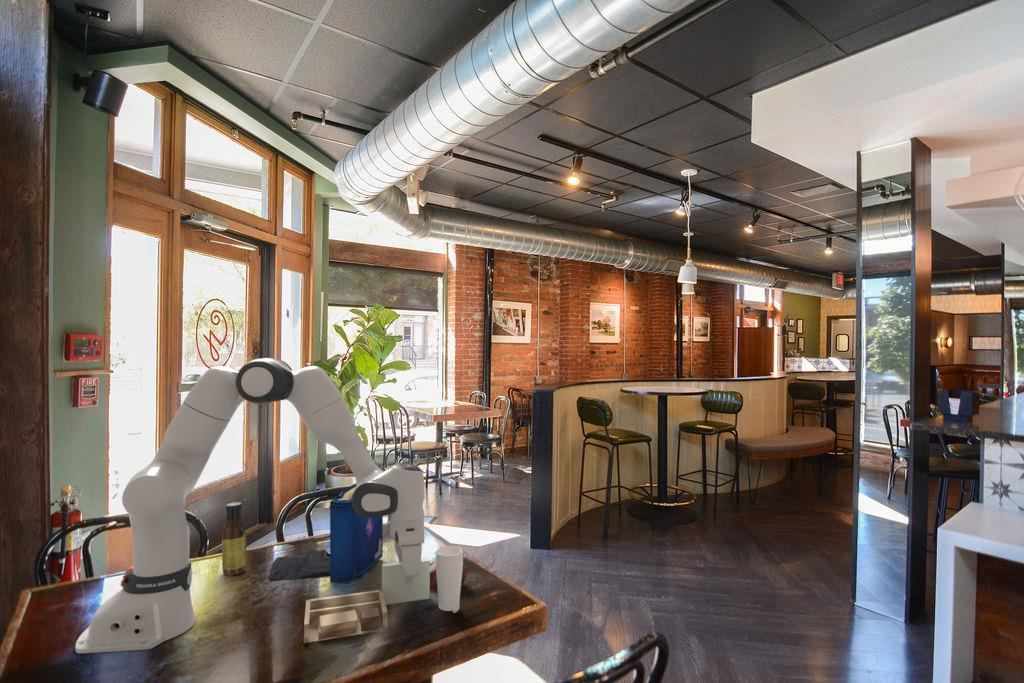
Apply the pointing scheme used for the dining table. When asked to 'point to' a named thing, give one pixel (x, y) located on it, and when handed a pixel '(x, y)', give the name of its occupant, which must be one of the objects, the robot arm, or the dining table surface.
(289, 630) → the dining table surface
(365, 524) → the book
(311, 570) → the dark slate chunk
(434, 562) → the heart
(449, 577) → the drinking glass
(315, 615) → the rack
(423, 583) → the sheet
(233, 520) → the sauce bottle
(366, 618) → the offcut small
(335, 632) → the offcut low
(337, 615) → the offcut top
